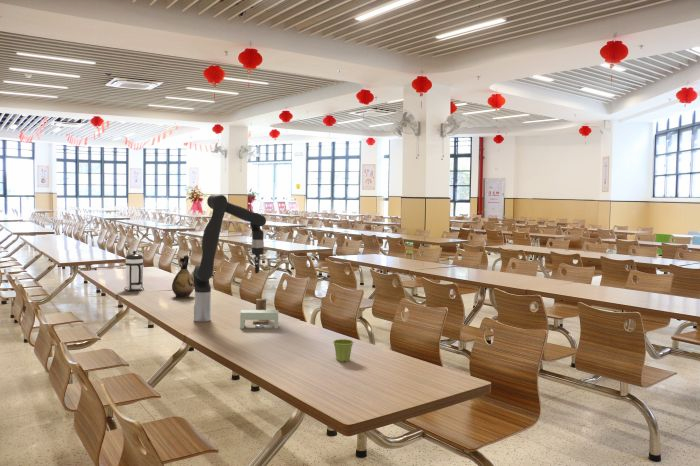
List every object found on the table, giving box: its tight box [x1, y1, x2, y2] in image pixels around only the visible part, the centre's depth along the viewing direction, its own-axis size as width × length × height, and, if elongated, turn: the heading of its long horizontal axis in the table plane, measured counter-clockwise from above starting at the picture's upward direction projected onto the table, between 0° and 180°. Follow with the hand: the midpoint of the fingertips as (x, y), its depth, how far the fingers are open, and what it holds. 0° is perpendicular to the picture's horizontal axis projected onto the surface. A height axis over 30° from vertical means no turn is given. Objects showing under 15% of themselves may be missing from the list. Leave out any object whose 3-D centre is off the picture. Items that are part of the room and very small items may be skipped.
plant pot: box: [332, 338, 355, 363], centre depth 264 cm, size 9×9×9 cm
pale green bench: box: [239, 309, 279, 330], centre depth 324 cm, size 21×8×9 cm, turn 97°
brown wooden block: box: [252, 298, 268, 325], centre depth 339 cm, size 8×15×12 cm, turn 7°
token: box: [254, 324, 265, 329], centre depth 326 cm, size 5×5×1 cm
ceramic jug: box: [171, 254, 195, 299], centre depth 410 cm, size 17×15×30 cm
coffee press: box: [124, 250, 145, 292], centre depth 431 cm, size 17×16×30 cm
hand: (257, 272), depth 361 cm, fingers open, 8 cm apart
